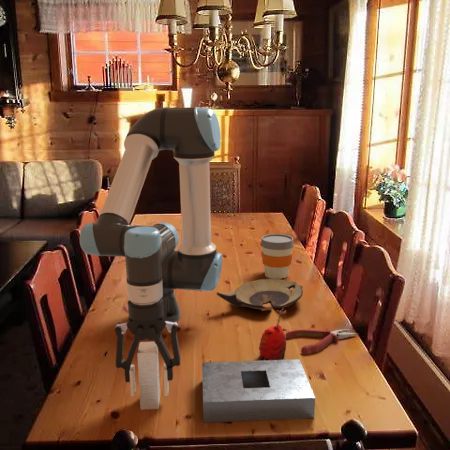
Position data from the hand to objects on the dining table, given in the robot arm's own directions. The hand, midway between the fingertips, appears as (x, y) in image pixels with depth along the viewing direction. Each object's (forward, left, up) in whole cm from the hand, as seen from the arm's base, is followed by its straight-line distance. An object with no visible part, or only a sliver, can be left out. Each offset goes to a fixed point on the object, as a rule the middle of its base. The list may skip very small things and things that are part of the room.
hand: (150, 392), depth 112 cm
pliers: (-25, +47, -3) cm, 53 cm away
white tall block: (0, 0, -3) cm, 3 cm away
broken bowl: (-53, +32, -3) cm, 62 cm away
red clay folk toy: (-18, +31, -3) cm, 36 cm away
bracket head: (0, +24, -3) cm, 24 cm away
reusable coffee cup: (-80, +42, -3) cm, 90 cm away
